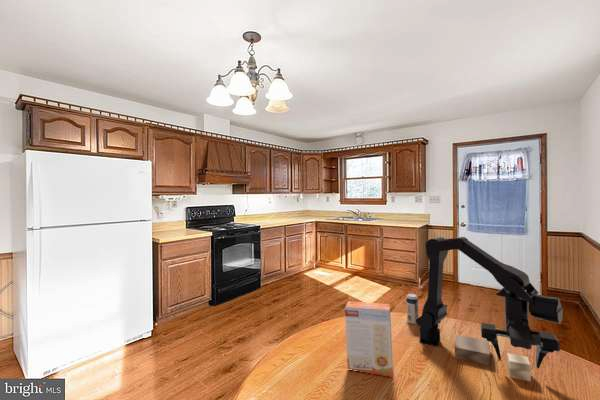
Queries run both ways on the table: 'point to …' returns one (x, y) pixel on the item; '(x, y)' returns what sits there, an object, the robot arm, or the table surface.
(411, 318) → the white capped bottle
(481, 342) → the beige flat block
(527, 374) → the maple cube
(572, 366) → the table surface
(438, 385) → the table surface
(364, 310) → the cracker box
